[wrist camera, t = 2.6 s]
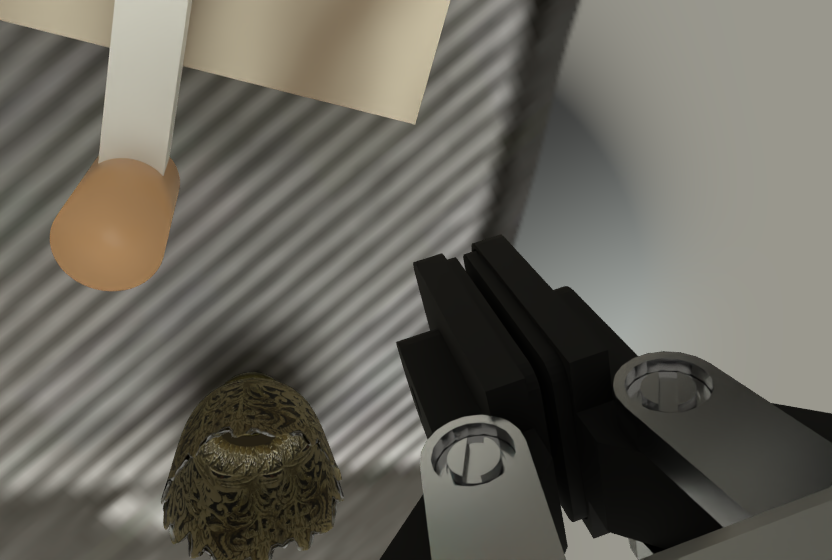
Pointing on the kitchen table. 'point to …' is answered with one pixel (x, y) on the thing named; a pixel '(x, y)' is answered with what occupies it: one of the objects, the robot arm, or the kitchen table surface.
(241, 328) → the kitchen table surface
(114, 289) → the crank handle
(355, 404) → the kitchen table surface
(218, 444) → the cup
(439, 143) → the kitchen table surface
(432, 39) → the post board
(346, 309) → the kitchen table surface
